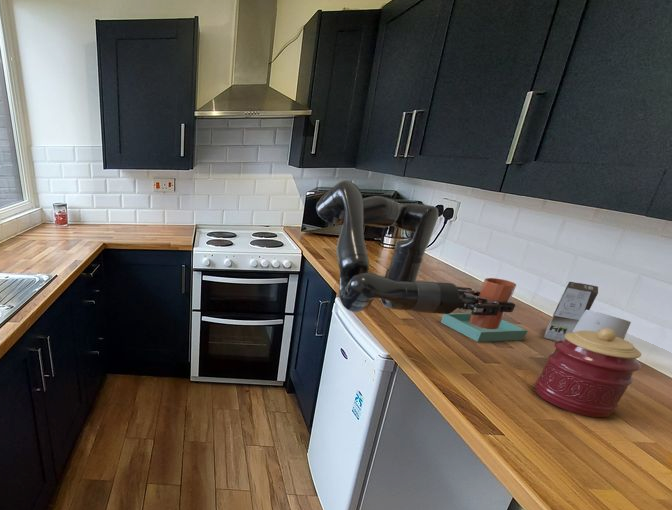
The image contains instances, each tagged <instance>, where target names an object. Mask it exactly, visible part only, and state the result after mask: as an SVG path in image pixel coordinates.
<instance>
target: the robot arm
mask: <svg viewBox="0 0 672 510" xmlns="http://www.w3.org/2000/svg"><path fill="white" fill-rule="evenodd" d="M363 197H364V196H363V193H362V191H361V190H360V188H359V187H358V186H357V185H356V184H355V183H354V182H352V181H351V180H345V179H344V180H341V181H339V182H338V183H336V184H335V185H334V186H332V187H331V188H330V189H329V190H328V191H327V192H326V193H325V194H323V195H322V196H321V197H320V199H318V201H317V203H316V206H315V209H316V213H317V215H318V217H320V218H321V219H322V220H323V221H325V222H326V223H329V224H331V225H342V226H341V230H340V233H339V235H338V239H337V244H336V258H337V263H338V269H339V282H338V283H339V289H338V294H339V300H340V302H341V304H342V306H343V307H344V308H345V309H346V310H347V311H349V312H352V313H361V312H363V311H365V310H366V309H367V308H369V307H370V305H371V304H372V302H373V301H374V300H375V299H380V301H381V304H382V306H383V307H384V308H386V309H390V310H395V311H396V310H399V311H410V312H411V311H412V312H415V313H425V314H426V313H427V314H438V315H439V314H441V315H443V314H450V313H454V311H456V310H457V309H458V310H461V311H466V312H467V311H471V312H470V313H471V314H473V315H492V316H497V315H498V312H505V313H513V311H514V309H515V307H516V303H514V302H511V301H510V302H497V301H491V300H487V299H486V298H485V297H480V296H479V293H480V290H477V289H476V290H475V289H474V290H473V288H471V287H464V286H457V285H456V284H454V283H451V282H440V281H439V282H438V281H437V282H436V281H423V280H421V281H417V278H418V275H419V272H420V268H421V266H422V263H423V259H424V255H425V253H426V250H427V248H428V246H429V245H430V242H431V239H432V237H433V233H434V230H435V228H436V226H437V222H438V219H439V209H438V208H437V207H436V206H434V205H429V204H428V205H427V204H421V203H413V202H412V203H401V202H400V203H399V201H397V200H396V199H394V198H392V197H388V196H384V195H383V196H382V195H371V196H368V197H364V198H363ZM365 226H369V227H375V228H389V227H394V228H397V229H399V230H403V231H406V232H410V233H414V234H413V235H412V238H410V239H405V240H399V241H397V242H396V243H395V245H394V250H393V253H392V256H391V260H390V264H389V268H387V269H386V271H385V275H384V276H382V275H379V274H376V273H373V272H369V270H370V260H369V256H368V252H367V246H366V241H365V232H364V231H365ZM479 300H481V303H478V302H479ZM486 303H489V304H486Z"/></svg>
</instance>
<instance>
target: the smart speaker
mask: <svg viewBox="0 0 672 510" xmlns="http://www.w3.org/2000/svg"><path fill="white" fill-rule="evenodd" d="M631 323H632V321H629V320H626V319H624V318H621V317H616V316H612V315H610V314H606V313H602V312H599V311H595V310H591V309H590V310H585V312H584V313H583V315H582V317H581V318H580V320H579V321H578V323H577V325H576V326H575V328H574V329H573V331H572V332H577V331H582V330H584V331H594V332H598V331H599V330H601V329H604V328H609V329H612V330H614V331H615V332H616V337H618V338H621V339H623V340H625V337H626V335H627V333H628V330H629V328H630V326H631Z"/></svg>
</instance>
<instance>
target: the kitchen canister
mask: <svg viewBox="0 0 672 510" xmlns="http://www.w3.org/2000/svg"><path fill="white" fill-rule="evenodd" d="M565 338H566V339H565V340H559V341H555V342H554V347H555V350H554V351H553V353H550V354H549V355H548V356H547V361H546V363H545V366H544V367H543V369H542V371H541V373H540V374H539V376H538V377H537V379H536V381H535V383H534V384H535V386H534V391H535V393H536V394H537V395H538V396H539V397H540V398H541V399H543V400H544V401H546V402H548V403H550V404H552V405H554V406H555V407H558V408H560V409H563V410H566V411H568V412H571V413H574V414H576V415H577V414H578V415H582V416H586V417H592V418H606V417H609V416H610V415H612V413H613V412H615V411H616V410H617V408H618V406H619V402H620V401H621V399H622V397H623V396H624V394H625V393H626V391H627V389H628V388H629V386H630V385H631V384H632V383H633V381H634V379H633V374H634V372H636V371H637V372H638V371H639V370H641V368H642V364H641V363H640V362H639V360H638V359H639V358H641V356H642V352H641V351H640V350H639V349H637V348H636V347H635V346H634V345H633V344H632V343H631V342H629V341H627V340H625V339H624V340H623V339H621V338H618V337H616V332H615V331H614V330H612V329H609V328H604V329H601V330H599V331H598V332H594V331H584V330H582V331H577V332H570V333H566V334H565Z"/></svg>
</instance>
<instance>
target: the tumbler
mask: <svg viewBox="0 0 672 510" xmlns="http://www.w3.org/2000/svg"><path fill="white" fill-rule="evenodd" d="M516 287H517V284H516V283H515V282H513V281H511V280H507V279H502V278H495V277H486V278H484V280H483V283H482V286H481V288H480V290H479V292H480V293H479V296H480V297H485V298H486V299H487V300H491V301H497V302H511V300H512V296H513V294H514V293H515V289H516ZM478 303H481V300H479V302H478ZM486 304H489V303H486ZM505 313H506V312H498V315H497V316H492V315H473V314H471V317H470V320H469V322H470V323H471V324H473V325H475V326H478V327H481V328H485V329H498V327H499V325H500V323H501V320H502V319H503V318H504V316H505Z"/></svg>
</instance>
